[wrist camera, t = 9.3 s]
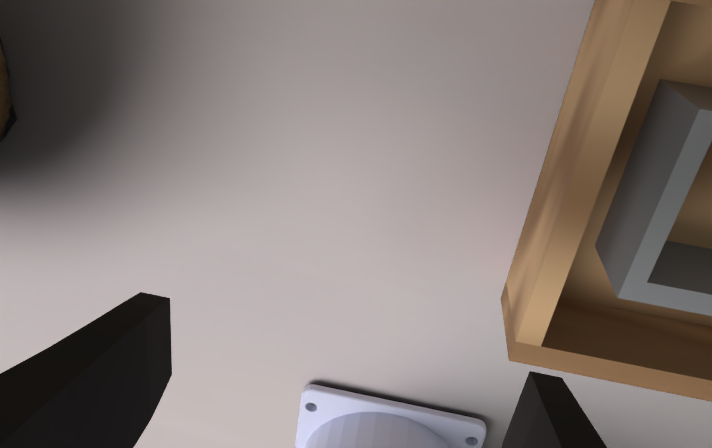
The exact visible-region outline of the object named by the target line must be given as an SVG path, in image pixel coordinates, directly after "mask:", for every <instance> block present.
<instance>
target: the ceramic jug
mask: <svg viewBox="0 0 712 448" xmlns="http://www.w3.org/2000/svg"><path fill="white" fill-rule="evenodd" d="M8 88H9V73H8V68H7V64H6V60H5V55H4V51H3V46H2V42H1V40H0V142H1V141H2V140H3V139H4V138H5V136H6V135H7V133H8V132H9V130H10V129H11V127H12V126H13V124H14V123H15V121H16V120H17V118H16V115H15V112H14V109H13V105H12V102H11V99H10V96H9V93H8Z"/></svg>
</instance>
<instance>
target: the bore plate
mask: <svg viewBox="0 0 712 448" xmlns="http://www.w3.org/2000/svg"><path fill="white" fill-rule="evenodd" d="M711 141H712V88H711V87H705V86H699V85H693V84H687V83H681V82H675V81H669V80H663V79H660V80H659V83H658V85H657V88H656V90H655V93H654V95H653V98H652V101H651V103H650V106H649V108H648V111H647V113H646V116H645V118H644V121H643V124H642V126H641V129H640V131H639V134H638V136H637V139H636V141H635V144H634V146H633V149H632V152H631V154H630V157H629V159H628V162H627V164H626V167H625V169H624V172H623V175H622V177H621V180H620V182H619V185H618V187H617V190H616V192H615V195H614V198H613V200H612V203H611V205H610V208H609V210H608V213H607V215H606V218H605V220H604V223H603V226H602V228H601V231H600V233H599V236H598V238H597V241H596V243H595V248H596V251H597V253H598V255H599V257H600V260H601V262H602V264H603V266H604V269H605V271H606V273H607V276H608V278H609V280H610V282H611V285H612V287H613V289H614V291H615V294H616V296H617V298H621V299H626V300H631V301H636V302H641V303H647V304H652V305H657V306H662V307H667V308H672V309H678V310H683V311H688V312H693V313H698V314H703V315H709V316H712V249H709V248H704V247H699V246H693V245H688V244H683V243H677V242H672V241H667V240H666V239H667V237H668V235H669V233H670V231H671V228H672V226H673V224H674V222H675V220H676V218H677V215H678V213H679V211H680V209H681V207H682V204H683V202H684V200H685V198H686V196H687V194H688V191H689V189H690V187H691V185H692V183H693V181H694V178H695V176H696V174H697V172H698V170H699V167H700V165H701V163H702V161H703V159H704V157H705V154H706V152H707V150H708V148H709V146H710V144H711Z"/></svg>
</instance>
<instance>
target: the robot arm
mask: <svg viewBox="0 0 712 448" xmlns="http://www.w3.org/2000/svg"><path fill="white" fill-rule="evenodd" d="M171 375H172V365H171V325H170V298H166V297H161V296H157V295H152V294H147V293H142V292H141V293H139V294H137V295H135V296H134V297H132V298H130V299H128V300H127V301H125V302H123V303H122V304H120V305H119V306H117V307H115V308H114V309H112V310H110V311H109V312H107V313H106V314H104V315H102V316H101V317H99V318H97V319H96V320H94V321H93V322H91V323H89V324H88V325H86V326H84V327H83V328H81V329H79V330H78V331H76V332H74V333H73V334H71V335H69V336H67V337H66V338H64V339H62V340H61V341H59V342H57V343H56V344H54V345H52V346H51V347H49V348H47V349H45V350H44V351H42V352H40V353H38V354H36V355H34V356H32V357H31V358H29V359H27V360H25V361H23V362H21V363H19V364H18V365H16V366H14V367H12V368H10V369H8V370H7V371H5V372H3V373H1V374H0V448H133V447H134V446H135V444H136V442H137V441H138V439H139V438H140V436H141V434H142V433H143V431H144V430H145V428H146V426H147V425H148V423H149V421H150V420H151V418H152V416H153V414H154V412H155V410H156V407H157V405H158V403H159V401H160V399H161V397H162V395H163V393H164V390H165V388H166V386H167V384H168V382H169V379H170V377H171ZM309 403H314V404H315V405H311V404H309ZM468 437H474V438H468ZM485 437H486V425H485V423H484V422H483V421H482V420H480V419H477V418H472V417H467V416H462V415H458V414H453V413H448V412H443V411H439V410H434V409H429V408H424V407H420V406H415V405H410V404H405V403H400V402H396V401H391V400H386V399H381V398H377V397H372V396H367V395H362V394H357V393H353V392H348V391H343V390H338V389H334V388H329V387H324V386H319V385H313V384H310V385H307V386H306V387H304V389H303V392H302V395H301V402H300V410H299V419H298V427H297V435H296V443H295V448H482V445H483V442H484V439H485ZM502 448H607V447H606V445H605V444H604V442H603V441H602V439H601V438H600V436H599V435H598V433H597V432H596V430H595V429H594V427H593V426H592V424H591V422H590V421H589V419H588V418H587V416H586V415H585V413H584V412H583V410H582V408H581V407H580V405H579V404H578V402H577V401H576V399H575V398H574V396H573V394H572V393H571V391H570V390H569V388H568V387H567V385H566V384H565V382H564V381H563V379H562V378H560V377H555V376H550V375H546V374H541V373H536V372H531V371H530V372H529V375H528V377H527V380H526V383H525V385H524V388H523V391H522V393H521V396H520V399H519V401H518V404H517V407H516V409H515V412H514V415H513V417H512V420H511V423H510V425H509V428H508V431H507V433H506V436H505V439H504V441H503V444H502Z"/></svg>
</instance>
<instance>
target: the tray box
mask: <svg viewBox="0 0 712 448" xmlns="http://www.w3.org/2000/svg"><path fill="white" fill-rule="evenodd" d="M660 79H663V80H669V81H675V82H681V83H687V84H693V85H699V86H705V87H711V88H712V0H595V3H594V6H593V9H592V12H591V15H590V18H589V22H588V25H587V28H586V31H585V34H584V37H583V40H582V44H581V47H580V50H579V53H578V56H577V59H576V63H575V66H574V69H573V72H572V75H571V78H570V82H569V85H568V88H567V91H566V94H565V97H564V101H563V104H562V107H561V110H560V113H559V116H558V119H557V123H556V126H555V129H554V132H553V135H552V138H551V142H550V145H549V148H548V151H547V154H546V157H545V161H544V164H543V167H542V170H541V173H540V176H539V179H538V183H537V186H536V189H535V192H534V195H533V198H532V202H531V205H530V208H529V211H528V214H527V217H526V221H525V224H524V227H523V230H522V233H521V236H520V239H519V243H518V246H517V249H516V252H515V255H514V258H513V262H512V265H511V268H510V271H509V274H508V277H507V281H506V284H505V287H504V290H503V293H502V296H501V304H502V311H503V319H504V326H505V334H506V342H507V349H508V357H509V361H514V362H519V363H524V364H529V365H534V366H539V367H544V368H549V369H554V370H559V371H563V372H568V373H573V374H578V375H583V376H588V377H593V378H598V379H603V380H608V381H613V382H618V383H623V384H628V385H633V386H638V387H642V388H647V389H652V390H657V391H662V392H667V393H672V394H677V395H682V396H687V397H692V398H697V399H702V400H707V401H712V316H709V315H703V314H698V313H693V312H688V311H683V310H678V309H672V308H667V307H662V306H657V305H652V304H647V303H641V302H636V301H631V300H626V299H621V298H617V296H616V294H615V291H614V289H613V287H612V285H611V282H610V280H609V278H608V276H607V273H606V271H605V269H604V266H603V264H602V262H601V260H600V257H599V255H598V253H597V251H596V248H595V243H596V241H597V238H598V236H599V233H600V231H601V228H602V226H603V223H604V220H605V218H606V215H607V213H608V210H609V208H610V205H611V203H612V200H613V198H614V195H615V192H616V190H617V187H618V185H619V182H620V180H621V177H622V175H623V172H624V169H625V167H626V164H627V162H628V159H629V157H630V154H631V152H632V149H633V146H634V144H635V141H636V139H637V136H638V134H639V131H640V129H641V126H642V124H643V121H644V118H645V116H646V113H647V111H648V108H649V106H650V103H651V101H652V98H653V95H654V93H655V90H656V88H657V85H658V83H659V80H660ZM666 240H667V241H672V242H677V243H683V244H688V245H693V246H699V247H704V248H709V249H712V141H711V144H710V146H709V148H708V150H707V152H706V154H705V157H704V159H703V161H702V163H701V165H700V167H699V170H698V172H697V174H696V176H695V178H694V181H693V183H692V185H691V187H690V189H689V191H688V194H687V196H686V198H685V200H684V202H683V204H682V207H681V209H680V211H679V213H678V215H677V218H676V220H675V222H674V224H673V226H672V228H671V231H670V233H669V235H668V237H667V239H666Z"/></svg>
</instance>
